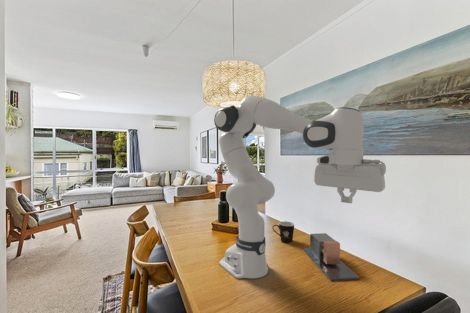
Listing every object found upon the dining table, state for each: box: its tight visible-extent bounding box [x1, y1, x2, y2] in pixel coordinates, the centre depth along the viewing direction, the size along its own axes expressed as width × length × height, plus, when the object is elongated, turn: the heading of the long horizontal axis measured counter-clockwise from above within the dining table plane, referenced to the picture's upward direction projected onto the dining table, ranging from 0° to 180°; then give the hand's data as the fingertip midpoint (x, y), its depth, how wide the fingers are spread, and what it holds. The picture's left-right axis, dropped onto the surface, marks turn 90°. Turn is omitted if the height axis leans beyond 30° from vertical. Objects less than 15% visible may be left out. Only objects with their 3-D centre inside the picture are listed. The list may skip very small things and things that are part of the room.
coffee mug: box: [271, 220, 295, 244], centre depth 131 cm, size 12×9×10 cm
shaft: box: [322, 240, 341, 264], centre depth 108 cm, size 17×6×9 cm, turn 5°
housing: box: [302, 232, 360, 282], centre depth 105 cm, size 28×12×10 cm, turn 5°
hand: (346, 202), depth 72 cm, fingers closed
